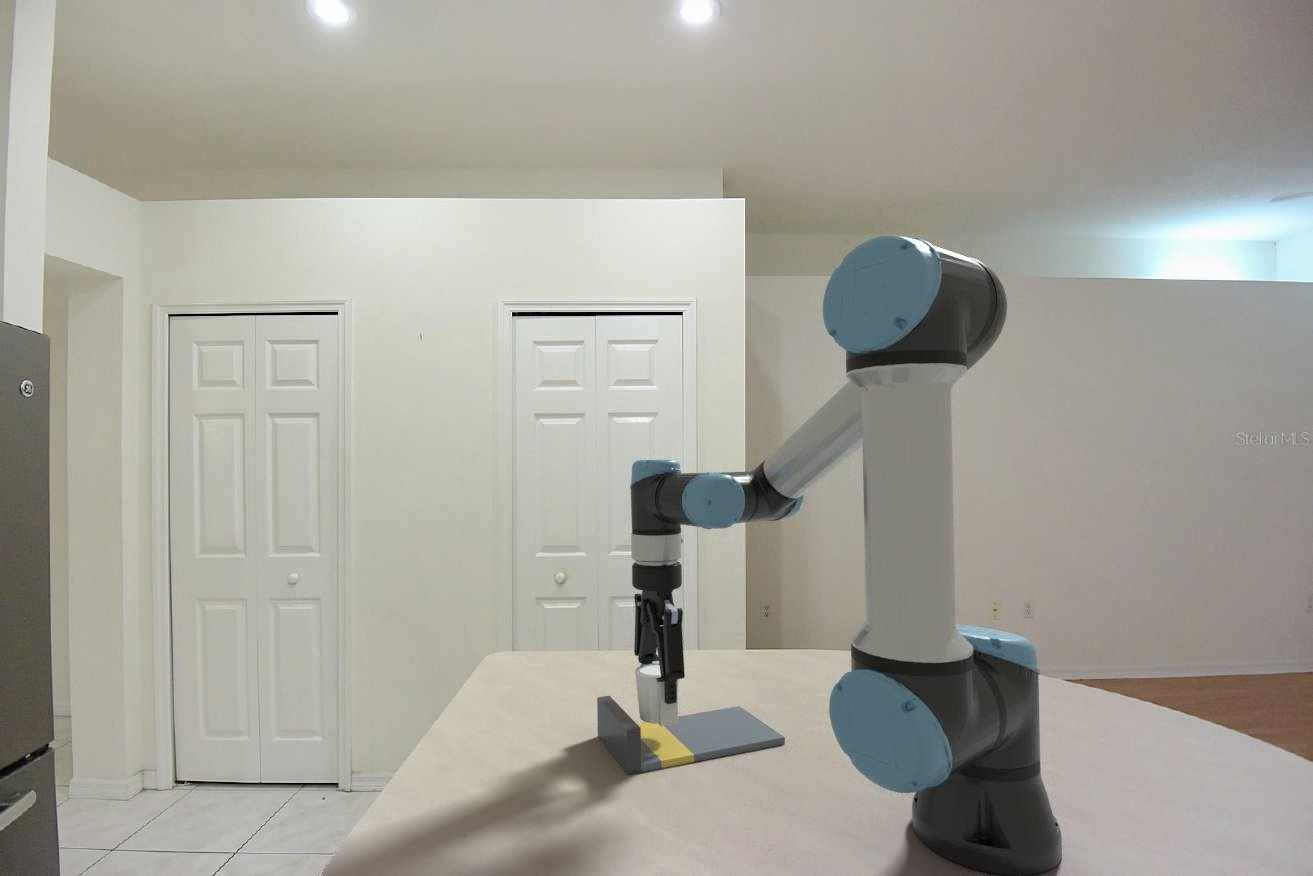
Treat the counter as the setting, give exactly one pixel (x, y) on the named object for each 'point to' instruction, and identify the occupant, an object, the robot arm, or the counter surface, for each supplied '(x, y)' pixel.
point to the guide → (680, 737)
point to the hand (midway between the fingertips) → (658, 714)
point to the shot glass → (649, 692)
